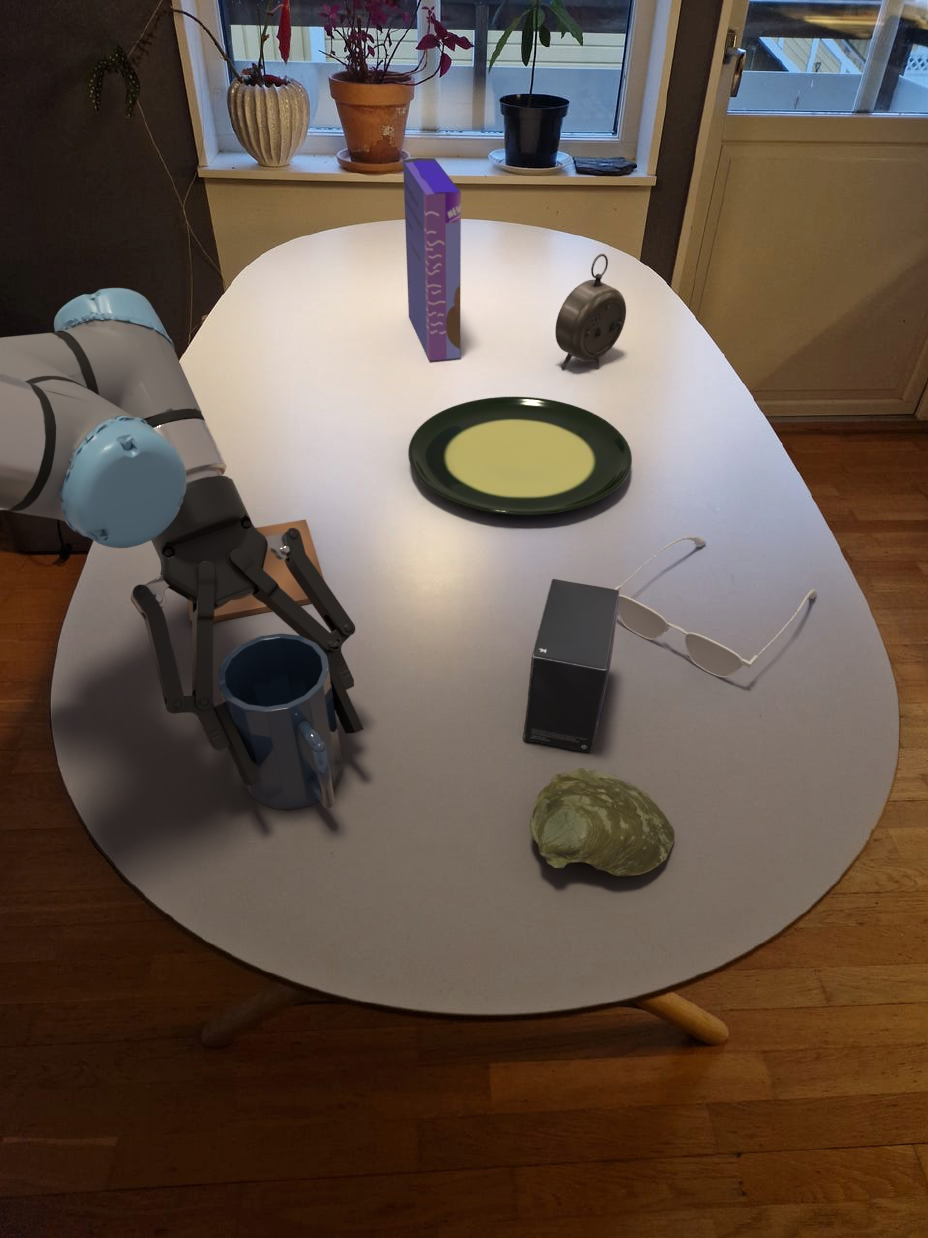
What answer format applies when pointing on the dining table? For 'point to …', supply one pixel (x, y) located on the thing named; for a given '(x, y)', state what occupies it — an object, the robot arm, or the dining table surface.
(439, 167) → the cereal box
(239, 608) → the cork mat
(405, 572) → the dining table surface
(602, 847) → the seashell
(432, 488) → the plate
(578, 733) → the small box
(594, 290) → the alarm clock
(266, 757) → the mug
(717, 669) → the eyeglasses
